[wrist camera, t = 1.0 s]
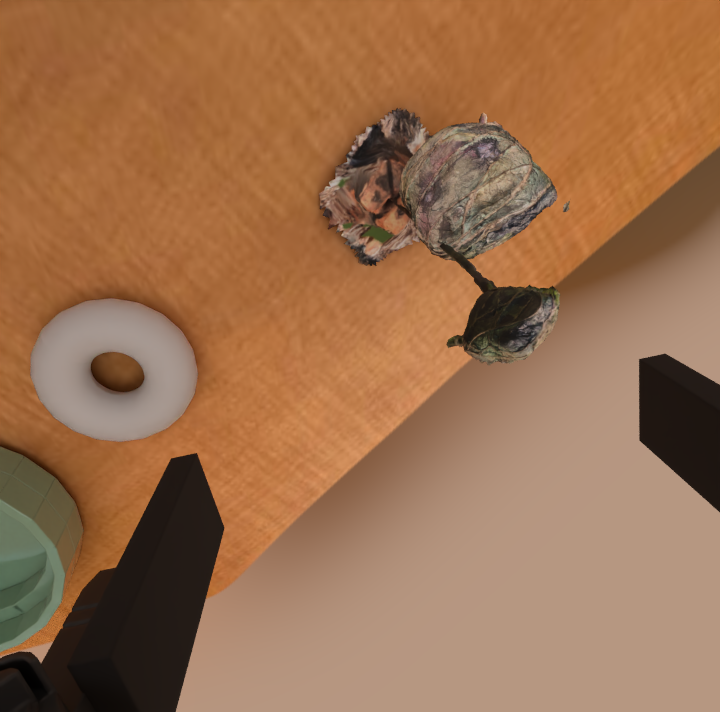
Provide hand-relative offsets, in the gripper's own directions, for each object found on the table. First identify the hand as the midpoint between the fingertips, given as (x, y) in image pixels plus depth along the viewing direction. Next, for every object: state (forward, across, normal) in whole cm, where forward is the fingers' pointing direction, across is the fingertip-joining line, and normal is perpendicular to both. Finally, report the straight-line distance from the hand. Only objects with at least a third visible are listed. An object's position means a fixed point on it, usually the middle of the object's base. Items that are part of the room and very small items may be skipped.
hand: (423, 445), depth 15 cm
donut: (+21, -17, -2) cm, 27 cm away
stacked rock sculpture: (+22, +4, +6) cm, 23 cm away
